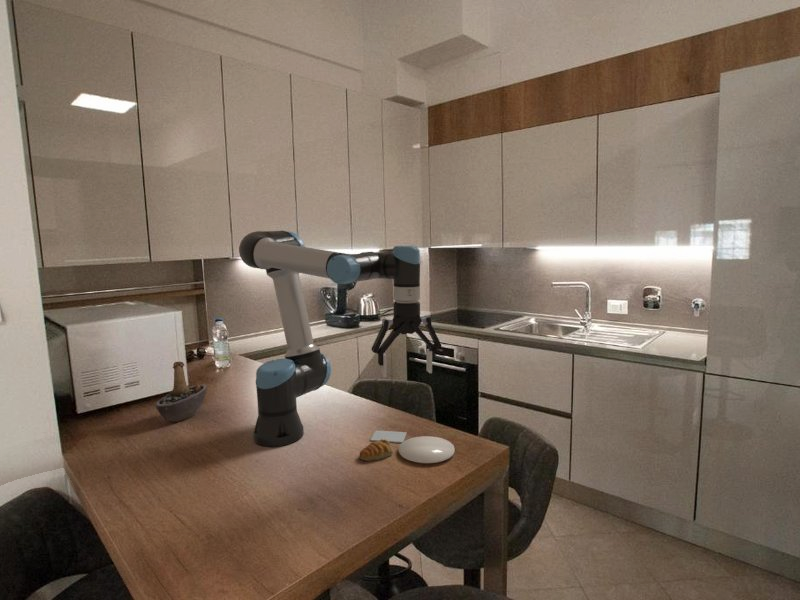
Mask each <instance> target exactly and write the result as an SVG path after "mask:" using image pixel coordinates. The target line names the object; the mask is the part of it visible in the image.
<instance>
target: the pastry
mask: <svg viewBox="0 0 800 600" xmlns="http://www.w3.org/2000/svg"><path fill="white" fill-rule="evenodd" d="M393 453H394V450H393V447H392V446H391V442H388V441H387V440H383V439H381V440H380V441H371V442H369V444H368V445H367V446H365V447H364V448H362V449H361V450H360V452H359V457H358V458H359V459H360V460H363V461H365V462H371V461H379V460H382V459H385V458H388V457H390V456H392V455H393Z"/></svg>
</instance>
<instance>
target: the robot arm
mask: <svg viewBox="0 0 800 600" xmlns="http://www.w3.org/2000/svg"><path fill="white" fill-rule="evenodd" d="M238 252H239V256H240V259H241V261H242V262H243V263H244V264H245V265H247V267H250V268H253V269H260V270H265V272H266V276H268V277H270V278H271V279H272V282H273V286H274V287H273V288H274V291H275V296H276V300H277V305H278V309H279V313H280V319H281V323H282V327H283V328H282V329H283V332H284V336H285V342H286V348H287V351H286V353H285V355H284V358H278V359H275V360H274V359H272V360H269V361H266V362H264V363H262V364H261V365H260V366H258V367H257V369H256V372H255V386H256V396H257V397H256V399H257V414H258V415H257V418H256V422H255V425H254V430H253V441H254V443H255V444H256V445H259V446H263V447H271V448H273V447H283V446H287V445H290V444H293V443H296V442H297V441H299V440H301V439H302V438H303V436H304V434H305V433H304V425H303V423H302V420H301V418H300V415H299V413H298V410H297V398H299V397H302V396H304V395H306V394H308V393H311V392H314V391H317V390H319V389H320V388H321V387H323V386H325V385H326V384H327V383H328V381H329V380H330V377H331V372H332V366H331V362H330V360H329V358H328V357H327V356H326V355H325V354H324V353H322V352H321V349H320V347H318V345H316V344H315V343H314V339H313V334H312V329H311V325H310V319H309V316H308V310H307V305H306V301H305V296H304V292H303V288H302V283H301V279H300V274H302V275H303V274H304V275H309V276H314V277H319V278H324V279H330V280H331V281H332V282H333V283H335V284H337V285H340V284H341V285H349V284H352V283H357V282H362V281H369V280H377V279H378V280H380V279H381V280H382V279H383V280H392V283H393V286H392V288H393V289H392V291H393V292H392V293H393V298H392V299H393V300H394V302H393V303H392V304H393V310H392V311H393V317H392V319H387V318H385V317H384V318H383V319H382V321H381V327H380V329H379V330H378V331H379V332H378V333H377V335H376V337H375V340H374V342H373V344H372V347H371V351H372V352H373V353H374V354H377V364H378V365H379V366H381V376H382V378H384V379H385V378H387V371H388V370H387V354H386V353H385V352H386V351H387V350H388V349H389V347H390V346H391V345H392V344H393V342H394V341H395V340H396V338H397V337H399V336H400V334H401V335H407V334H409V335H412V334H414V333H415V334H416V335H417V336H418V338H420V339H421V340H422V341H423V343H425V345H426V346H427V347H428V348H427V349H426V370H425V371H426V372H427V373H429V374H432V373H433V362H435V360H436V351H437V350H438V349H441V348H442V343H441V341H440V339H439V337H438V335H437V333H436V331H435V329H434V326H433V325H432V318H431V317H430V316H428V315H425V316H424V317H421V303H420V300H421V282H420V281H421V280H420V279H421V263H422V262H421V253H420V252H421V251H420V248H419V247H418V246H416V245H395V246H394V247H393V248H392V252H379V251H377V252H376V251H366V252H365V251H363V252H360V253H344V252H337V251H332V250H325V249H320V248H312V247H306V245H305V243H304V241H303V239H302V237H300V236H299V235H298V234H297V233H295V232H292V231H287V230H270V231H269V230H268V231H267V230H265V231H263V230H262V231H261V230H259V231H258V230H256V231H251V232H250V233H248V234H246V235H245V236H243V238H242V239H241V240H240V243H239V247H238ZM421 323H422V324H423V325H425V328H426V330H427V332H428V334H429V336H430V339H431V340H432V342H433V343H432V342H431V340H430V339H429V338H428V337H427V336H426V335H425V334H424V333H423V331H422V329H420V328H419V327H420V325H421ZM391 325H393V327H394V328H393V329H392V330H391V333H390V334H389V335H388V336H387V338H386V339H385V340H384V338H385V337H386V334H387V332H388V330H389V328H390V327H391Z"/></svg>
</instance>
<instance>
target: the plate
mask: <svg viewBox="0 0 800 600" xmlns="http://www.w3.org/2000/svg"><path fill="white" fill-rule="evenodd" d="M398 454H399V455H400V456H401V457H402V458H403V459H405V460H407V461H410V462H414V463H419V464H434V463H435V464H437V463H442V462H443V461H447V460H448V459H450V458H452V457H453V456H454V454H455V446H454V444H452V442H451V441H449V440H447V439H445V438H442V437H438V436H432V435H431V436H430V435H429V436H428V435H427V436H426V435H425V436H423V435H422V436H416V437H415V436H414V437H411V438H408V439H406V440H405V439H404V442H402V443H399V445H398Z"/></svg>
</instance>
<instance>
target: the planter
mask: <svg viewBox="0 0 800 600" xmlns="http://www.w3.org/2000/svg"><path fill="white" fill-rule="evenodd" d="M172 365H173V366H172V368H173V386H172V387H173V389H172V391H170V393H168V394H166V395H165V396H163V397H161V398H160V399H158V401H156V403H155V407H156V409H157V411H158V413H159V415H160V416H161V417H162V418H164V419H165V420H166V421H170V422H172V423H178V422H181V421H186V420H187V419H189V418H191V417H193V416H194V415H195V414H196V413H197V411H198V410H199V409H200V408H201V406H203V402H204V399H205V397H206V392H207V386H206V384H204V383H203V384H196V385H192V386H188V385H187V381H186V377H185V375H186V374H185V370H184V367H185V363H184V362H183V361H174V363H173V364H172Z"/></svg>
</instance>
